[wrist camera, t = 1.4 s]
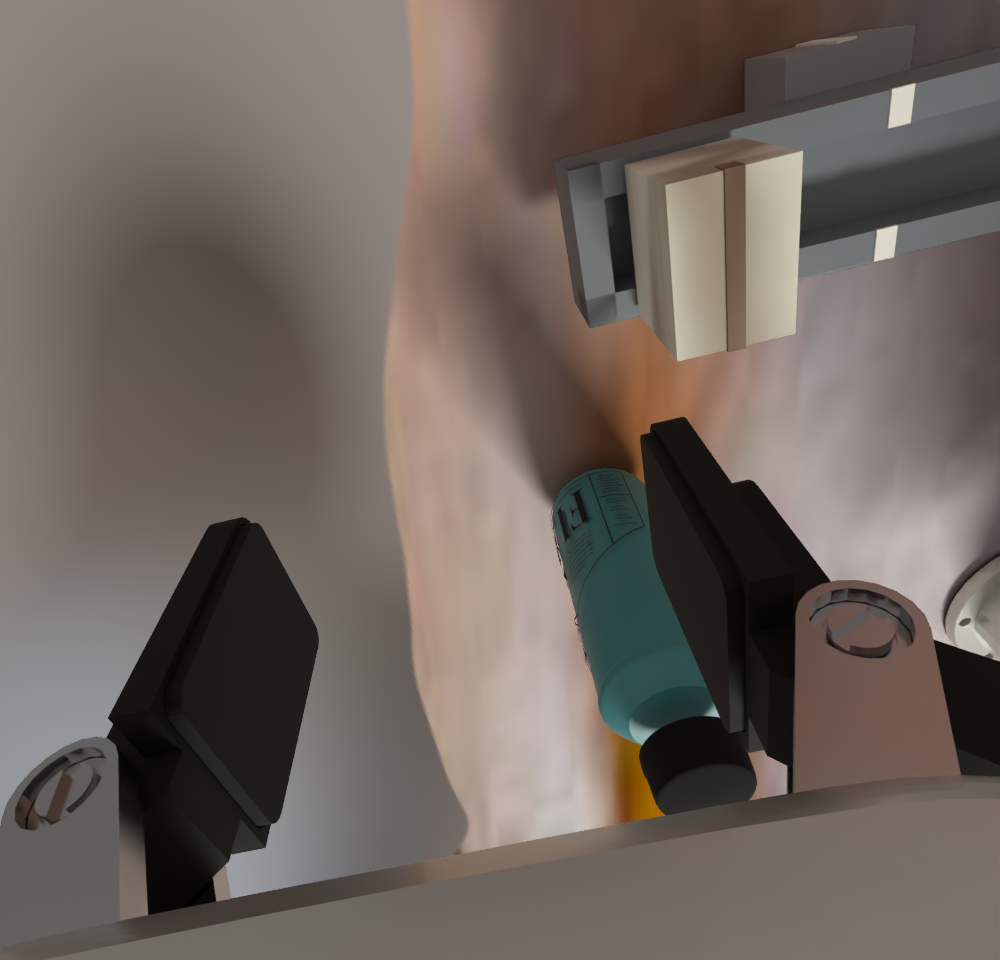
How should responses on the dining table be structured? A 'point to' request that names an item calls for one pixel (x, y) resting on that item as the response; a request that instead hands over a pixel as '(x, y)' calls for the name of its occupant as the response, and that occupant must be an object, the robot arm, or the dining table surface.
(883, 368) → the dining table surface
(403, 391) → the dining table surface
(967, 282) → the dining table surface
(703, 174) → the rider
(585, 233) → the beam
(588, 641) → the beverage bottle
